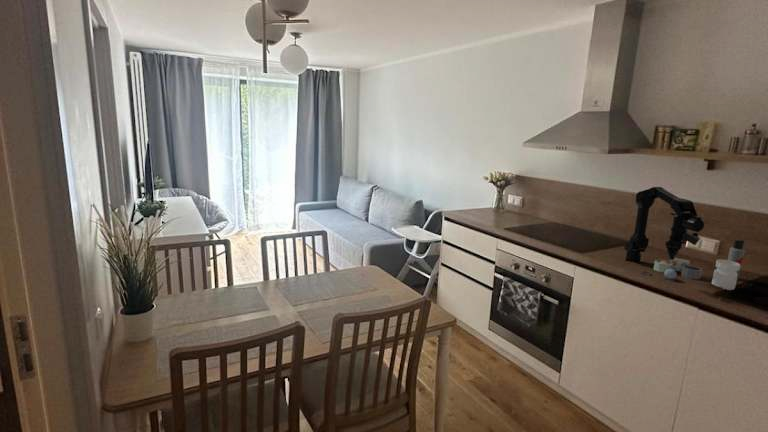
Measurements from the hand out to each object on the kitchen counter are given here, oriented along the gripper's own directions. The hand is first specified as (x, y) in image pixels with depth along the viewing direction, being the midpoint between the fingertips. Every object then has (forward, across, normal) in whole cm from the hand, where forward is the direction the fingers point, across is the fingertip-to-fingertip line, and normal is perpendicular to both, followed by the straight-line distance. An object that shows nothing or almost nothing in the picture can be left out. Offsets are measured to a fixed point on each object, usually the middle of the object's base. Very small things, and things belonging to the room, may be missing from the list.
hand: (673, 257), depth 199 cm
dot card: (+12, +17, -1) cm, 20 cm away
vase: (+12, +9, -20) cm, 25 cm away
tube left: (+12, +12, +5) cm, 17 cm away
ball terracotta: (+11, +12, +5) cm, 17 cm away
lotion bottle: (+12, +27, -22) cm, 37 cm away
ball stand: (+12, 0, +5) cm, 13 cm away
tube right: (+12, +12, -7) cm, 18 cm away
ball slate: (+11, 0, 0) cm, 11 cm away
